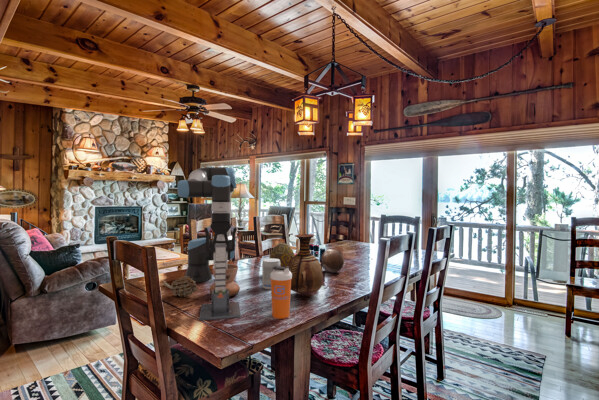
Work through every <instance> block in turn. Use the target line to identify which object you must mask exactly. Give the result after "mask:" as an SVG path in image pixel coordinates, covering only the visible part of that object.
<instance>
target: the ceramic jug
mask: <svg viewBox="0 0 599 400" xmlns="http://www.w3.org/2000/svg"><path fill="white" fill-rule="evenodd" d="M238 269H239V266H238V265H237V264H232V263H228V268H226V269H225V271H226V275H225V276H226V281H225V282H226V287H225V288H226V289H229V298H230V297H233V296H235V295H237V294H238V293H239V292H240V288H241V287H240V285H239V284H238V283H236V282H235V281H234V280H235V278H236V275H237V273H238ZM211 271H212V273H213V274H212V275H213V277H214V278H215V277H216V275H215V271H216V269H213V266H212V270H211ZM208 290H209V293H210V294H211V295H212V290H215V282H214V283H212V284H211V285H210V286H209V289H208Z"/></svg>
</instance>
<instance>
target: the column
mask: <svg viewBox="0 0 599 400" xmlns="http://www.w3.org/2000/svg"><path fill="white" fill-rule="evenodd" d="M226 247H227V244H226V243H216V244H215V248H216V260H215V269H216V271H215V275H216V277H214V280H215V281H214V283H215V293H221V292H222V293H226V288H225V287H226V282H225V281H226V276H225V275H226V271H225V269H226Z"/></svg>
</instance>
